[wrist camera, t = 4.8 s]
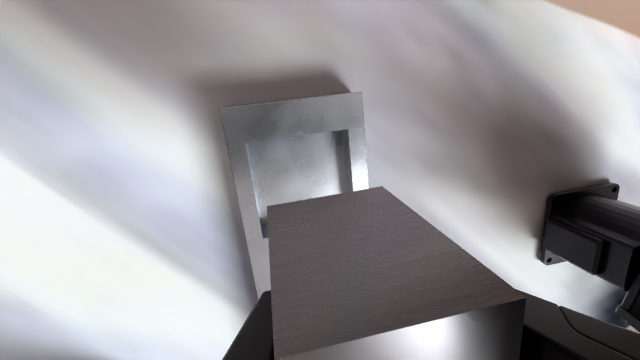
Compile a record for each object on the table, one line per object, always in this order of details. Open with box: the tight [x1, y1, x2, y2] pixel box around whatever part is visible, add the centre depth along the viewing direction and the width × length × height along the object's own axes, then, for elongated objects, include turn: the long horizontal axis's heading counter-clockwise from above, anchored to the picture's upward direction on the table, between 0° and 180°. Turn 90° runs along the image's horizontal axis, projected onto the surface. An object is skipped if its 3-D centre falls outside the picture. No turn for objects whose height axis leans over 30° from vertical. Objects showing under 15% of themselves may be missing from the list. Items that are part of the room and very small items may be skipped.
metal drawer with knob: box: [267, 186, 526, 360], centre depth 8 cm, size 4×4×6 cm
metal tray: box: [219, 92, 368, 300], centre depth 21 cm, size 8×20×2 cm, turn 6°
